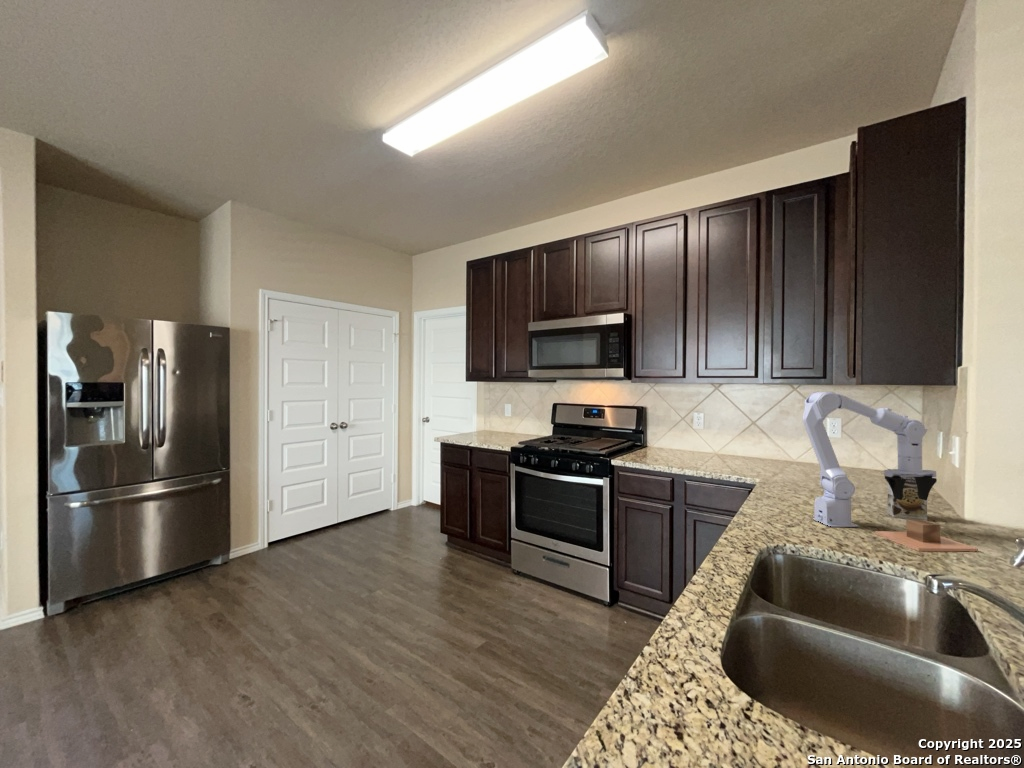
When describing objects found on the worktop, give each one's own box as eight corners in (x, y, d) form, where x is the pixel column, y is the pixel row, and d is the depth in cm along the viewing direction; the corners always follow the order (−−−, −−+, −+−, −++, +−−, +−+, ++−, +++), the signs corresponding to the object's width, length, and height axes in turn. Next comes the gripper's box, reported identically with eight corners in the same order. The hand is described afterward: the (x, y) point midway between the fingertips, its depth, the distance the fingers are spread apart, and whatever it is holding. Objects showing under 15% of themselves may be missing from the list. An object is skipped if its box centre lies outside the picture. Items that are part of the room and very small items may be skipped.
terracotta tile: (918, 551, 114) (918, 548, 115) (875, 533, 128) (875, 531, 129) (978, 551, 114) (978, 548, 114) (928, 534, 128) (928, 531, 128)
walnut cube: (923, 542, 119) (922, 524, 119) (906, 536, 124) (906, 519, 124) (940, 542, 119) (940, 524, 119) (923, 536, 124) (923, 519, 124)
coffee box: (893, 517, 145) (892, 471, 146) (887, 513, 151) (886, 468, 151) (928, 521, 141) (927, 473, 141) (920, 516, 147) (920, 470, 147)
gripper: (897, 458, 130) (898, 502, 130) (945, 458, 129) (946, 502, 129) (878, 455, 137) (879, 496, 137) (923, 455, 137) (924, 497, 136)
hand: (910, 499), depth 133 cm, fingers open, 7 cm apart
